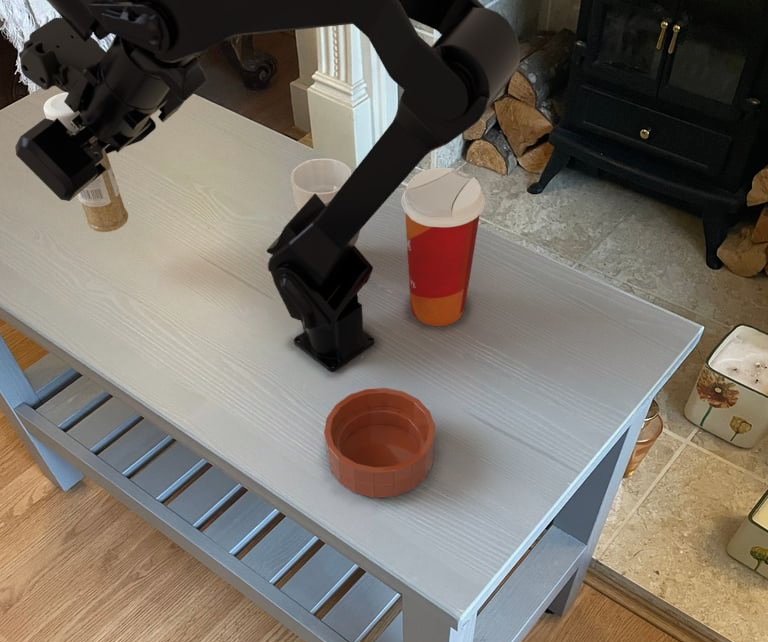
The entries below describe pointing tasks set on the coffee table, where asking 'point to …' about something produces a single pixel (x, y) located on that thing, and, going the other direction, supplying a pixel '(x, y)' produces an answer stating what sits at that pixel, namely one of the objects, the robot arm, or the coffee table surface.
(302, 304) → the robot arm
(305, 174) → the cup
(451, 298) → the coffee cup
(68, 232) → the coffee table surface
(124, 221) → the sprinkles bottle
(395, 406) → the bowl
